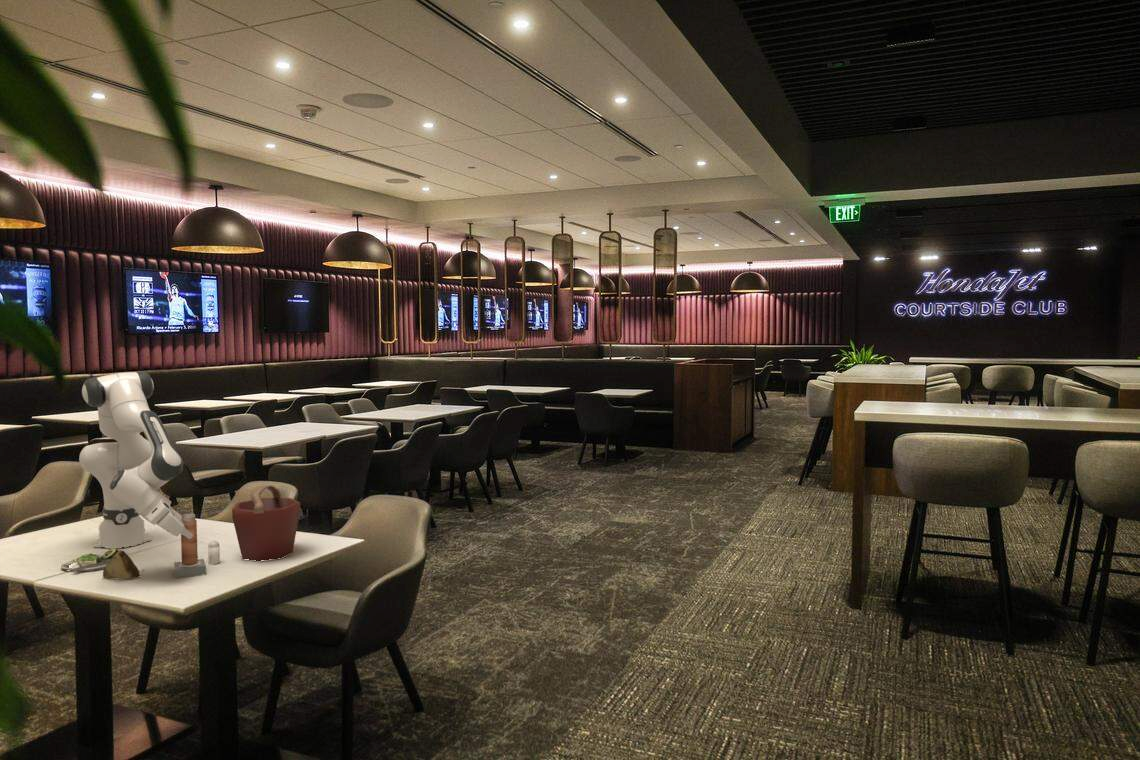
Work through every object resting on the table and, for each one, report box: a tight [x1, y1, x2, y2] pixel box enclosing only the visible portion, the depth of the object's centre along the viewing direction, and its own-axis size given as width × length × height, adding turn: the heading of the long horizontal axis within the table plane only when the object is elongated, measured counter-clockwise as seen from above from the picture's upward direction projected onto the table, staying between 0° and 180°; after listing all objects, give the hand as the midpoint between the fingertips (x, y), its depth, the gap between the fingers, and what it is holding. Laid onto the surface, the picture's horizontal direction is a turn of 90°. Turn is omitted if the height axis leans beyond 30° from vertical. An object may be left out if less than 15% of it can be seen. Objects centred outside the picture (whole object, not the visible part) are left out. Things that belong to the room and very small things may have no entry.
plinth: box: [173, 558, 207, 579], centre depth 257 cm, size 9×9×3 cm
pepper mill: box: [180, 513, 199, 565], centre depth 257 cm, size 5×5×16 cm
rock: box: [102, 549, 142, 580], centre depth 253 cm, size 11×9×10 cm
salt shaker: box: [207, 540, 221, 565], centre depth 268 cm, size 4×4×8 cm
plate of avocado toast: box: [60, 548, 119, 572], centre depth 265 cm, size 19×18×5 cm
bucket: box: [231, 484, 301, 562], centre depth 278 cm, size 24×22×25 cm
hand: (191, 534), depth 257 cm, fingers closed on pepper mill, 5 cm apart
